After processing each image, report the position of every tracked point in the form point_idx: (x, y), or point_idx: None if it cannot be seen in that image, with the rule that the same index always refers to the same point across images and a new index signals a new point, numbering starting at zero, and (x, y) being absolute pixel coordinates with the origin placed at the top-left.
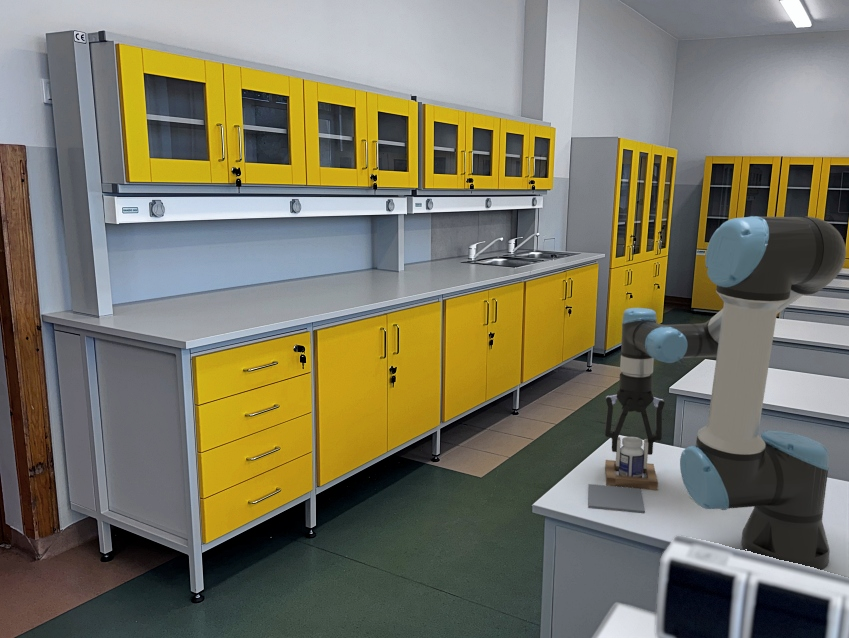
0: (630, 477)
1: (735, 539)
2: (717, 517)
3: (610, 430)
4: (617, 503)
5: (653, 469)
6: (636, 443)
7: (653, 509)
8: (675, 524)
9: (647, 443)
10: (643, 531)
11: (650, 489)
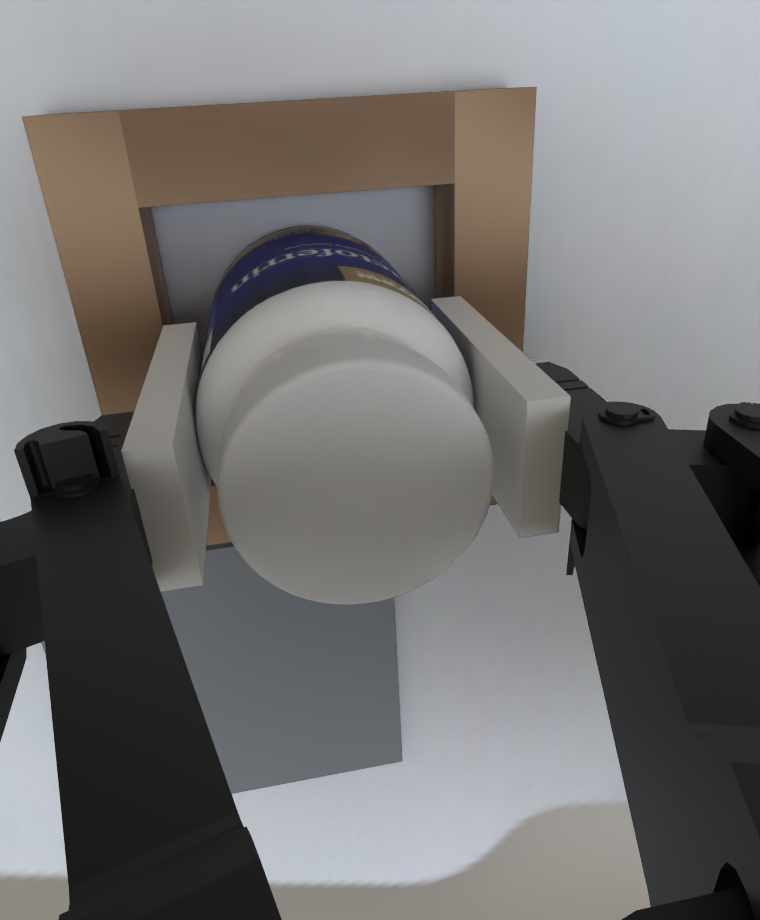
0: None
1: None
2: None
3: (5, 718)
4: (258, 745)
5: (516, 252)
6: (410, 588)
7: (444, 701)
8: (525, 784)
9: (545, 530)
10: (386, 874)
11: None
